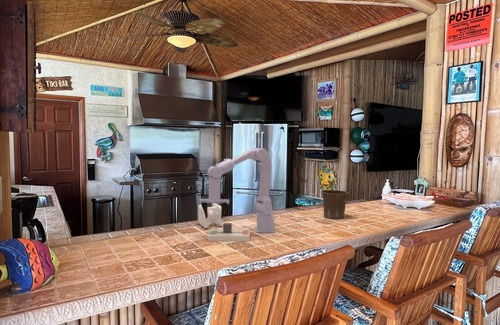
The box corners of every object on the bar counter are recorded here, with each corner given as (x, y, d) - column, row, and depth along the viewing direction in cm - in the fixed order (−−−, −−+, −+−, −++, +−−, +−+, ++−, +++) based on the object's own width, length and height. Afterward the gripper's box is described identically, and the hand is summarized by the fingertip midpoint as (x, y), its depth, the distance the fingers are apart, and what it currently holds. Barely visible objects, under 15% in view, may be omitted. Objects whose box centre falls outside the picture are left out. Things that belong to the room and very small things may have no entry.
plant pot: (350, 216, 200) (351, 191, 199) (343, 221, 186) (344, 194, 185) (325, 213, 209) (326, 189, 208) (317, 218, 195) (317, 192, 194)
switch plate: (250, 233, 162) (250, 229, 162) (249, 241, 150) (249, 236, 150) (211, 233, 162) (211, 229, 162) (207, 241, 150) (207, 235, 150)
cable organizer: (223, 228, 174) (223, 207, 173) (204, 230, 169) (204, 208, 168) (214, 221, 187) (214, 202, 186) (197, 223, 183) (197, 204, 182)
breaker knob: (231, 230, 157) (231, 223, 157) (231, 232, 154) (231, 224, 154) (223, 230, 157) (223, 223, 157) (223, 232, 154) (223, 224, 154)
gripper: (198, 191, 151) (198, 219, 152) (228, 192, 151) (228, 220, 151) (201, 189, 158) (200, 216, 159) (229, 190, 158) (229, 216, 158)
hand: (214, 217), depth 156 cm, fingers open, 7 cm apart
